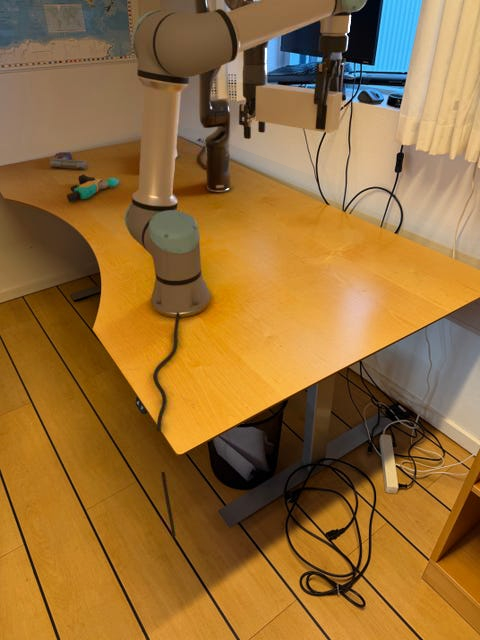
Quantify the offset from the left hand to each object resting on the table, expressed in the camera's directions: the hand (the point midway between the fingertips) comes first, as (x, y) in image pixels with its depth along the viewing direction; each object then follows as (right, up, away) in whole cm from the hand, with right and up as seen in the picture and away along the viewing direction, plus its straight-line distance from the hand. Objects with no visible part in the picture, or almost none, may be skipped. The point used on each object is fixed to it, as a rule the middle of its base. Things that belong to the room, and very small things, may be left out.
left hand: (325, 126), depth 139 cm
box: (-8, +3, +5) cm, 10 cm away
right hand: (-20, +3, +15) cm, 26 cm away
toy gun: (-102, +15, +80) cm, 130 cm away
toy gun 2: (-87, -6, +51) cm, 101 cm away
